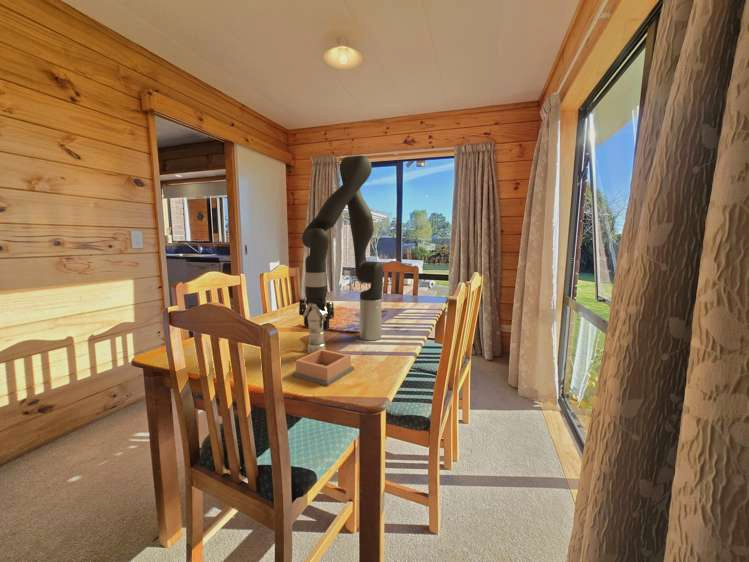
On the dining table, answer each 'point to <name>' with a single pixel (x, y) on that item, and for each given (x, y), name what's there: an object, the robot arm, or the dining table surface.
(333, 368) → the collar stand
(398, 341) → the dining table surface
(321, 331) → the grey tall ridged piece
